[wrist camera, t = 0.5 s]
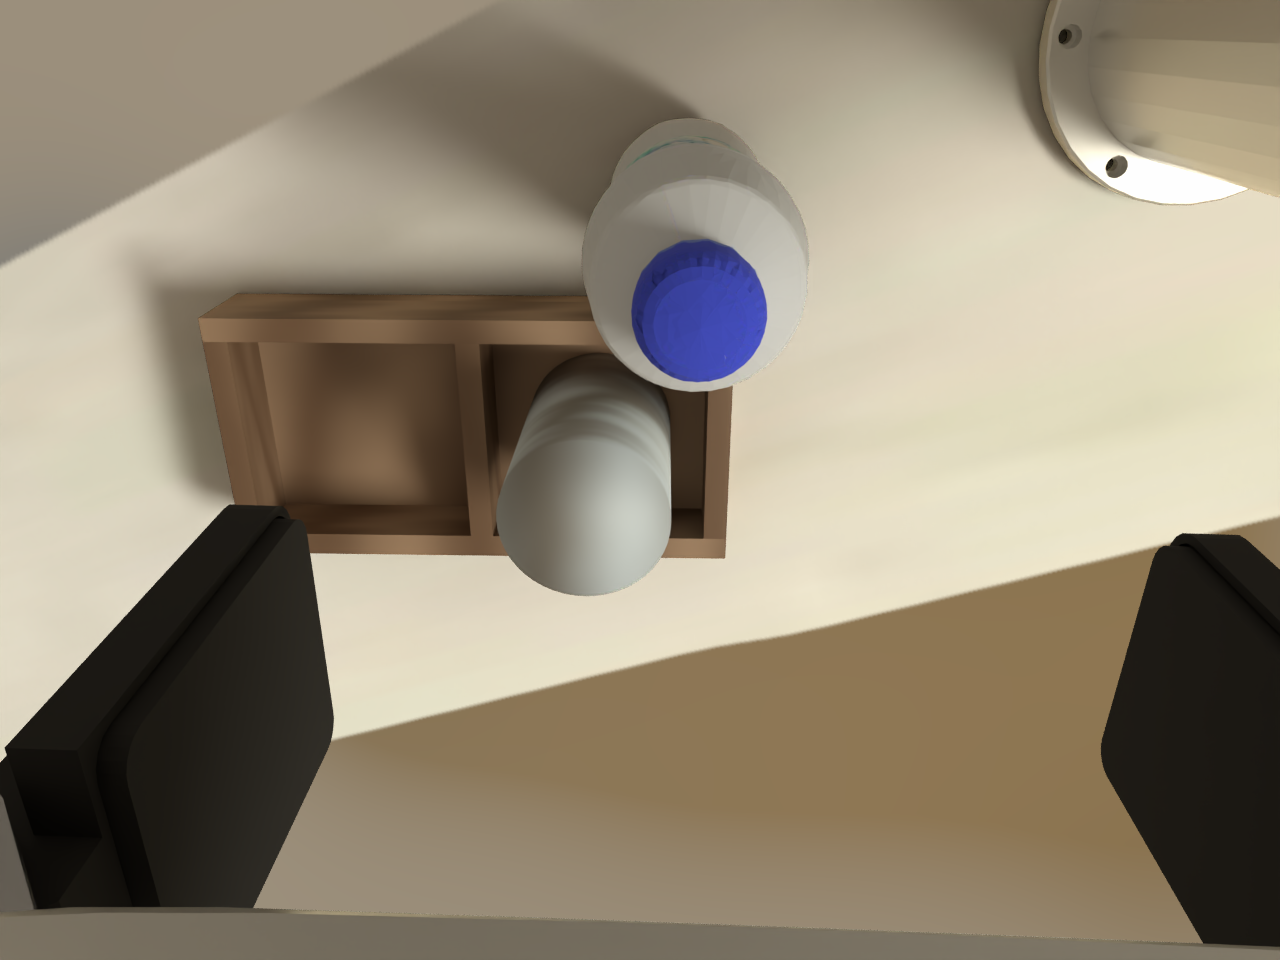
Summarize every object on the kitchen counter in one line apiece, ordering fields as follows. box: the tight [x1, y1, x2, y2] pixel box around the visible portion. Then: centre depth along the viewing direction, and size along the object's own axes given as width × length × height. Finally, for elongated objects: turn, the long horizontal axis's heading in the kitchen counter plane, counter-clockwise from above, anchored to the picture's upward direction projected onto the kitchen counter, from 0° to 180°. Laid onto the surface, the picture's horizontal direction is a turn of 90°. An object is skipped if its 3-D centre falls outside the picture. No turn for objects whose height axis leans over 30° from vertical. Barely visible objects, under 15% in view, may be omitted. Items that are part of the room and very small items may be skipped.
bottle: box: [582, 118, 809, 392], centre depth 32 cm, size 7×7×20 cm
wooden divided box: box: [198, 294, 733, 596], centre depth 40 cm, size 22×11×11 cm, turn 90°
